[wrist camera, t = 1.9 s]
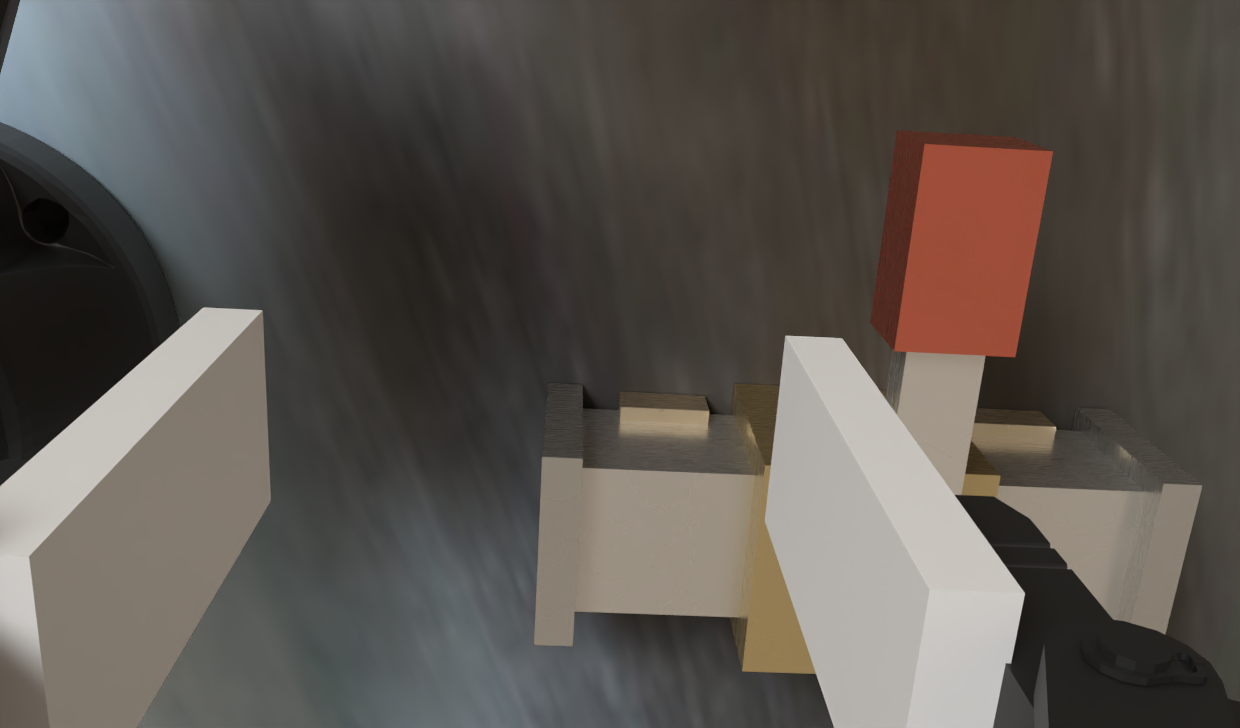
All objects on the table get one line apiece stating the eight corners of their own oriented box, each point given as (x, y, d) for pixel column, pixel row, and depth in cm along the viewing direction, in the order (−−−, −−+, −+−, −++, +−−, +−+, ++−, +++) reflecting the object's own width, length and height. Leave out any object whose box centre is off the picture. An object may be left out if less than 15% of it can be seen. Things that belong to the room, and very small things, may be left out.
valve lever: (929, 657, 33) (954, 707, 31) (821, 653, 33) (839, 703, 31) (1019, 137, 28) (1057, 151, 26) (893, 129, 28) (920, 143, 26)
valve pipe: (540, 554, 42) (530, 699, 33) (548, 374, 39) (539, 482, 31) (1073, 575, 43) (1193, 720, 34) (1111, 401, 40) (1248, 512, 32)
